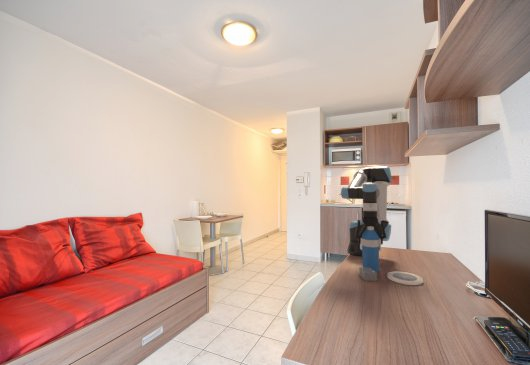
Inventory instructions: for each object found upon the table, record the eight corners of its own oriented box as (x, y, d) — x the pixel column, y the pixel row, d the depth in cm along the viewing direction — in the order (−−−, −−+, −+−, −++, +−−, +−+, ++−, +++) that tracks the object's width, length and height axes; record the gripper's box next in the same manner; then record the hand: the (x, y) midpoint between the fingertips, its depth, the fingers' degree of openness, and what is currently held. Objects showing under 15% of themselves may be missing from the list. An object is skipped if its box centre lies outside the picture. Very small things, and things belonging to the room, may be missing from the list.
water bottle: (382, 272, 132) (382, 227, 133) (365, 272, 132) (365, 227, 133) (375, 267, 141) (374, 224, 142) (359, 267, 142) (358, 224, 142)
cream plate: (383, 272, 133) (383, 270, 133) (415, 274, 129) (415, 272, 129) (392, 283, 117) (392, 281, 117) (429, 286, 114) (429, 284, 114)
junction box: (359, 275, 129) (359, 266, 129) (370, 275, 129) (370, 266, 129) (364, 280, 121) (364, 271, 121) (376, 280, 121) (376, 272, 121)
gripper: (350, 210, 136) (351, 250, 136) (392, 211, 132) (393, 252, 131) (349, 209, 144) (349, 247, 143) (388, 210, 139) (389, 249, 138)
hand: (370, 249), depth 137 cm, fingers closed on water bottle, 9 cm apart
